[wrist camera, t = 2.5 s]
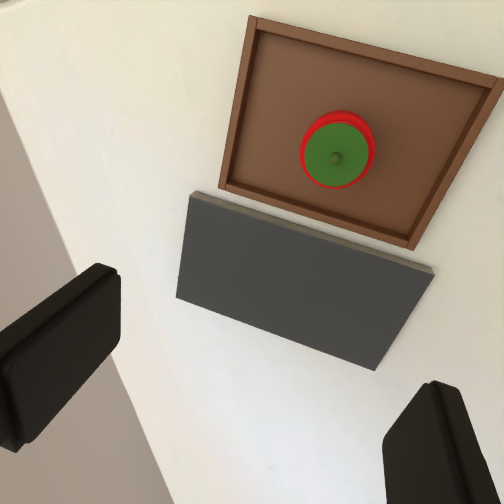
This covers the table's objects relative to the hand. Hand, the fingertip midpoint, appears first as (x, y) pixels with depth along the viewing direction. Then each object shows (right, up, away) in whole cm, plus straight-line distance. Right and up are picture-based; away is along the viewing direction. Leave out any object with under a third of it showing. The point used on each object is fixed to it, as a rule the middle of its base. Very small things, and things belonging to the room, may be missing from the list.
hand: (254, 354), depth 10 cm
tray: (+6, +11, +13) cm, 18 cm away
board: (+3, +1, +20) cm, 20 cm away
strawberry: (+6, +11, +13) cm, 18 cm away
